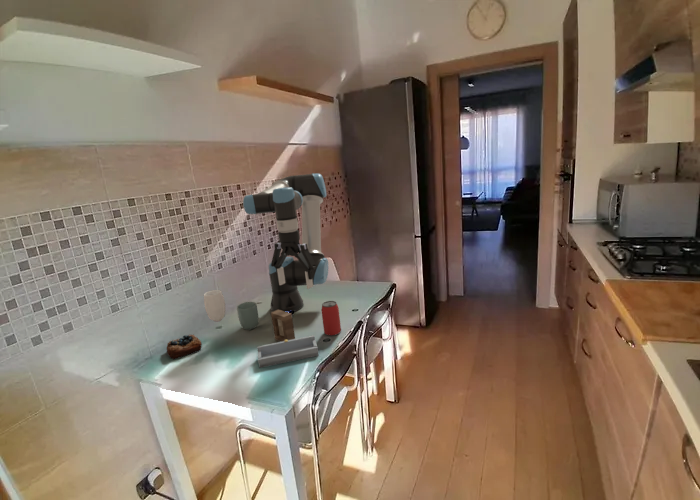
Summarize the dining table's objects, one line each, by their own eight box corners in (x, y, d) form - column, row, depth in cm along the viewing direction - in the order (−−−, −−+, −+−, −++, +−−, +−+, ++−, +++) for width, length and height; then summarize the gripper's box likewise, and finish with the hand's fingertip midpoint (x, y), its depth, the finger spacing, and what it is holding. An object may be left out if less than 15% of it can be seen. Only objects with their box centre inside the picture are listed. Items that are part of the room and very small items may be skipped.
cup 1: (221, 337, 149) (211, 288, 144) (236, 339, 146) (226, 289, 141) (208, 346, 142) (198, 295, 137) (223, 348, 140) (213, 296, 135)
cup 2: (263, 324, 157) (260, 302, 155) (251, 332, 151) (247, 309, 148) (249, 322, 161) (245, 301, 158) (236, 330, 154) (232, 308, 152)
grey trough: (259, 368, 123) (257, 355, 122) (259, 357, 130) (257, 345, 129) (318, 355, 127) (317, 342, 126) (315, 346, 134) (313, 334, 133)
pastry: (165, 351, 142) (162, 337, 141) (197, 340, 149) (194, 327, 147) (171, 362, 133) (167, 347, 132) (205, 350, 140) (202, 336, 139)
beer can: (328, 338, 139) (324, 308, 137) (321, 331, 145) (318, 303, 142) (344, 332, 142) (340, 303, 139) (336, 326, 148) (333, 298, 145)
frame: (275, 339, 143) (270, 312, 140) (282, 335, 145) (278, 309, 143) (288, 344, 138) (284, 317, 135) (295, 340, 140) (291, 313, 138)
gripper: (256, 232, 139) (264, 285, 144) (309, 233, 125) (316, 292, 130) (270, 228, 145) (278, 279, 150) (322, 228, 132) (328, 285, 136)
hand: (295, 285), depth 140 cm, fingers open, 13 cm apart
